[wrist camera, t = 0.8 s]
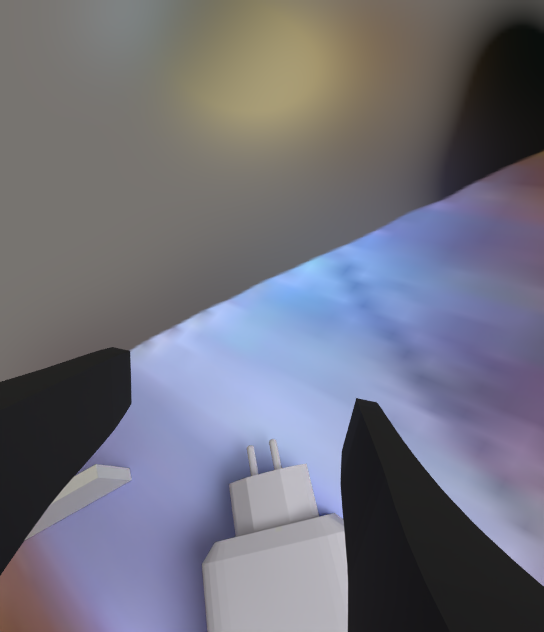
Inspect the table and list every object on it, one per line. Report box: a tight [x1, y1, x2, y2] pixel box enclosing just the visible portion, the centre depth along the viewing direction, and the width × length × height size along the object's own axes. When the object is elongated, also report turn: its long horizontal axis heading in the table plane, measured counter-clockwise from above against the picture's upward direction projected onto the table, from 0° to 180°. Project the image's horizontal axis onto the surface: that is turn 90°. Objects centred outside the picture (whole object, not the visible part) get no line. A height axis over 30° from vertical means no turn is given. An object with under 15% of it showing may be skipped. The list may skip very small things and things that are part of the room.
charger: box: [202, 439, 348, 632], centre depth 21 cm, size 5×9×15 cm
